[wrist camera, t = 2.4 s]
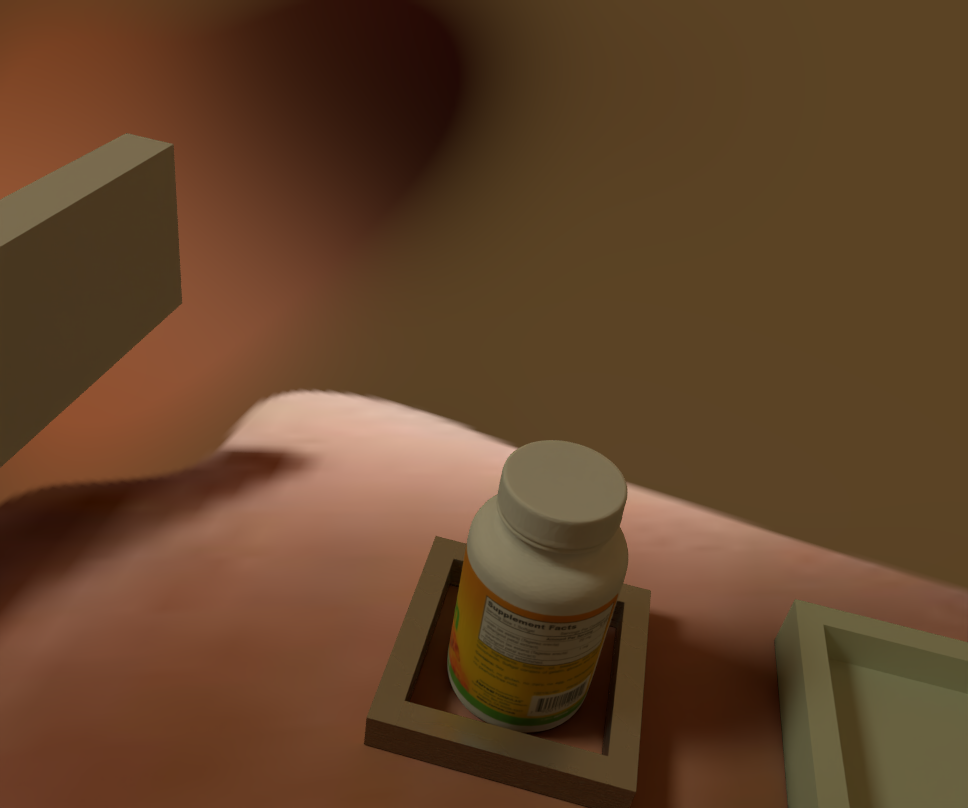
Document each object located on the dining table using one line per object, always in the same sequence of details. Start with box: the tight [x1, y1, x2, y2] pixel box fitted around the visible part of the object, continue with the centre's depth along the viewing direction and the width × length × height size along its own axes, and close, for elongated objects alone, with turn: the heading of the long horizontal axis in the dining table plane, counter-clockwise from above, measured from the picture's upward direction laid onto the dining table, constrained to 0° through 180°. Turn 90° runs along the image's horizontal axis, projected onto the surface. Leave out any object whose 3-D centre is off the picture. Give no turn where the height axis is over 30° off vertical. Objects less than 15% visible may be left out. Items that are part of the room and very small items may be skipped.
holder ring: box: [364, 536, 651, 808], centre depth 32 cm, size 9×9×2 cm
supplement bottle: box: [447, 440, 628, 732], centre depth 30 cm, size 5×5×10 cm
